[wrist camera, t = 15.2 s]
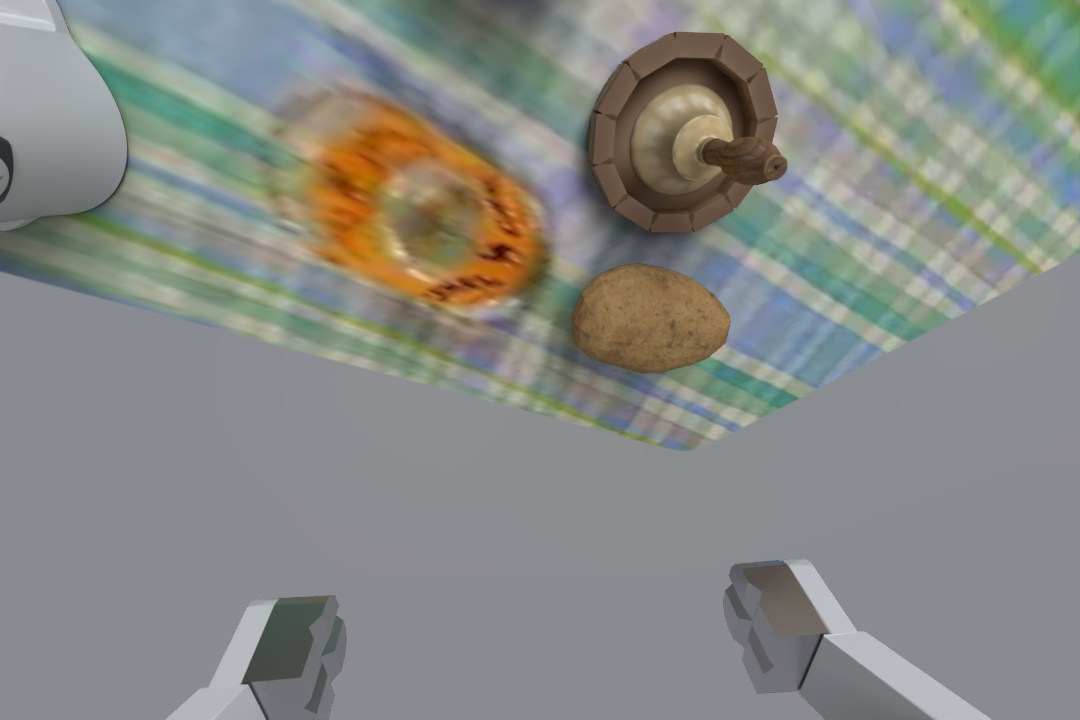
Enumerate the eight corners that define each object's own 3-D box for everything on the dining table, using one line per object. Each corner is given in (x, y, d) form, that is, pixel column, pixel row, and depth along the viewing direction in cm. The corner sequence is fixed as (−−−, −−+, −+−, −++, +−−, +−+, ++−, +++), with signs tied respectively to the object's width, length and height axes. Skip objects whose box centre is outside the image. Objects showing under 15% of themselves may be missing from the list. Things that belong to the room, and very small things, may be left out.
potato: (693, 352, 51) (725, 394, 44) (558, 342, 49) (568, 384, 42) (721, 260, 47) (761, 290, 40) (573, 245, 45) (587, 274, 38)
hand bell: (618, 186, 42) (682, 236, 28) (645, 73, 38) (735, 65, 24) (711, 202, 43) (816, 258, 29) (746, 94, 39) (887, 98, 25)
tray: (555, 169, 42) (559, 174, 39) (657, -7, 36) (670, -14, 34) (684, 251, 46) (695, 262, 43) (792, 105, 41) (812, 106, 38)
